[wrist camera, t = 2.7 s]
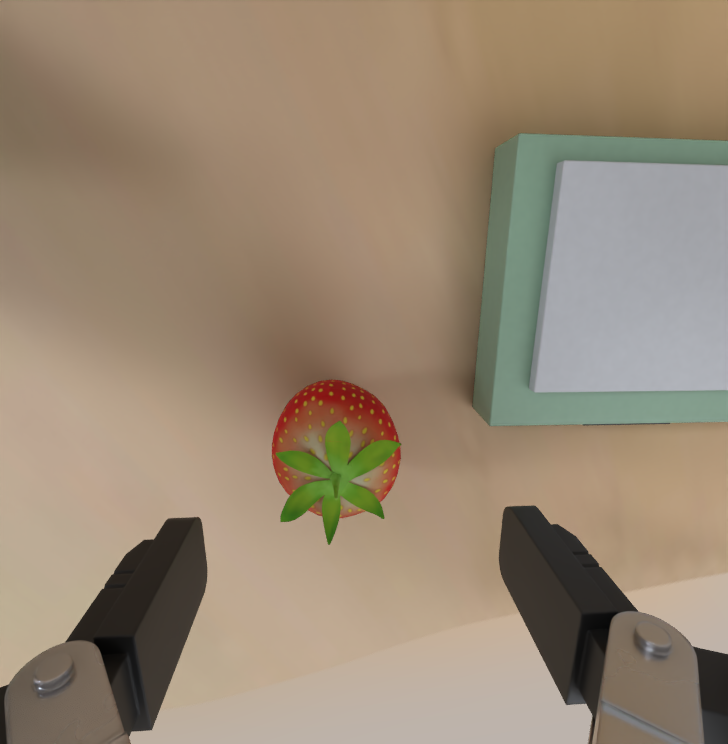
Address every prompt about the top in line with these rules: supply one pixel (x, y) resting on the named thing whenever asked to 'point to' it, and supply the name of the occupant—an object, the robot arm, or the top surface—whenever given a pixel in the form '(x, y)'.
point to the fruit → (335, 453)
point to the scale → (605, 283)
